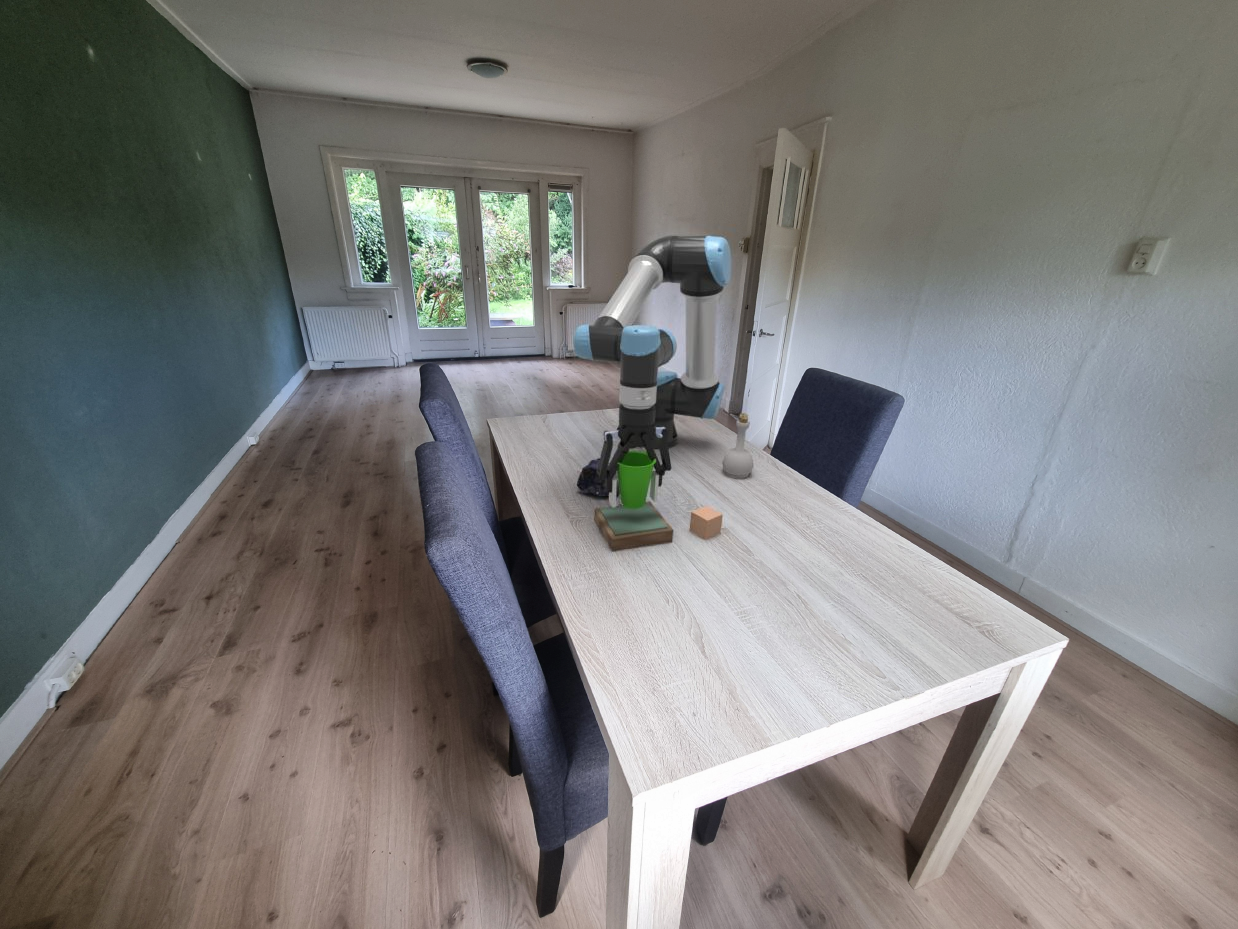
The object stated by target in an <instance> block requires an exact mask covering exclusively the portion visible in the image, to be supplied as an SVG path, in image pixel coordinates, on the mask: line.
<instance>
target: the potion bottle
mask: <svg viewBox="0 0 1238 929" xmlns="http://www.w3.org/2000/svg"><path fill="white" fill-rule="evenodd" d="M738 416H739V418H738V420H736V422H735V423H736V424H735V425H736V428H737V435H736V442H735V447H733V448H732V447H731V448H729V449H728V451H727V452H726V453H725V454H724V456H723V459H722V461H721V464H722V465H721V466H722V469H723V470H724V474H725V475H726V476H727V477H728V478H733V479H746V478H747V477H749V474H750V473H752V471H753V468H754V466H755V465H754V460H753V456H752V454H751V453H750V450H748V449H745V447H744V446H745V441H746V440H745V439H746V432H747V430H748V429H749V427H750V425H751V422H750V421H749V417H748V416H749V415H748V413H744V412H743V413H740V414H739V415H738Z"/></svg>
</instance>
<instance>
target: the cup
mask: <svg viewBox="0 0 1238 929" xmlns="http://www.w3.org/2000/svg"><path fill="white" fill-rule="evenodd" d="M655 463H656V459H654V460H653V461H652V460H651V459H650V458H649V456H648V454H647V452H645V451H639V450H629V452H628V453H626V455H625V457H624V459H623V461H622V462H621V463H617V464H619V468H618V470H617V473H618V481H619V488H620V493H619V494H620V500H621V502H620V503H621V505H623V506H624V507H626V508H629V509H639V508H642V507H643V506H644V504H645V502H647V501H646V499H647V497H648V492H649V489H650V484H651V475H652V471H654V464H655Z"/></svg>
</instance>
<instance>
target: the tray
mask: <svg viewBox="0 0 1238 929" xmlns="http://www.w3.org/2000/svg"><path fill="white" fill-rule="evenodd" d="M593 518H594V522H595V524H596V525H597V527H598V529H599V531H600V532H601V534H602V536H603V538H604V539H605V542H606V543H607V545H608V547H609V549H610V550H611V552H617V551H623V550H628V549H629V550H631V549H636V548H641V547H642V548H643V547H649V546H655V545H660V544H667V543H673V539H674V529H673V528H672V526H671V525H670V524H669V523H668V522H667V521H666V519H665V517H663V516H662V514H661V512H659V511H658V509H657V507H655V505H654V504H653V503H652V501H650V500H649V501H645V504H644V506H643V507H642V508H639V509H629V508H626V507H624V506H623V504H620V505H618V504H617V505H616V507H613V508H612V506H611V505H610V506H604V507H598V508H597V507H596V508H594V517H593Z"/></svg>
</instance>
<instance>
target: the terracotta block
mask: <svg viewBox="0 0 1238 929" xmlns="http://www.w3.org/2000/svg"><path fill="white" fill-rule="evenodd" d="M723 517H724V516H723V513H721V512H719V511H718V510H716V509H714V508H712V507H710V506H708V505H705V506H701V507H700V508H697V509H695V510H692V511H691V512H690V520H689V522H690V523H689V531H690V532H691V533H693V534H694V535H697V536H699V537H700V538H701V539H703V540H704V541H705V540H706V541H707V540H708V539H710V538H713V537H715V536H717V535H720V534H721V533H722V532H721V531H722V524H723Z"/></svg>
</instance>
